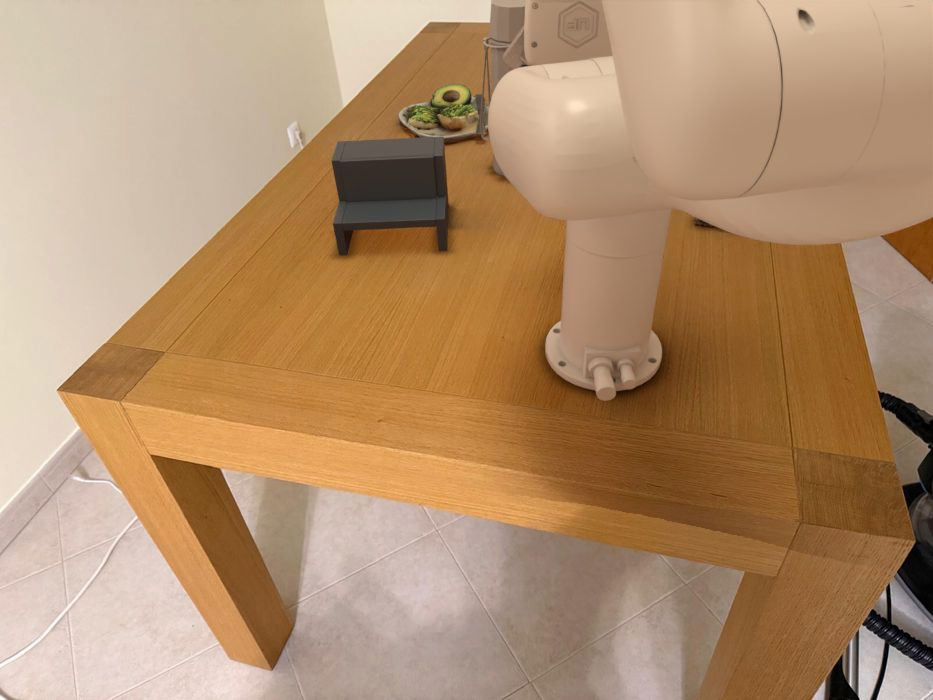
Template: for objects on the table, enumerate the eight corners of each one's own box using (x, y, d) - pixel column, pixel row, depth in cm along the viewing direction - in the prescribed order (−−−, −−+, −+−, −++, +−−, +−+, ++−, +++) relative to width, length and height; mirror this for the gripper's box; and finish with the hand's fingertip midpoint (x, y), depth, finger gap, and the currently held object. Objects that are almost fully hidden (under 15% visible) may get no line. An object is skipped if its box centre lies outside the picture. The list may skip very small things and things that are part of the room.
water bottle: (542, 161, 111) (546, -7, 95) (532, 184, 106) (535, 9, 89) (487, 157, 113) (482, -8, 97) (475, 179, 108) (468, 8, 91)
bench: (447, 251, 92) (441, 176, 85) (339, 255, 93) (324, 181, 86) (448, 206, 101) (443, 136, 94) (350, 211, 102) (337, 141, 95)
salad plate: (524, 133, 120) (524, 107, 117) (431, 157, 114) (429, 131, 111) (474, 98, 133) (474, 74, 130) (389, 118, 127) (386, 93, 124)
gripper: (487, -53, 60) (491, 141, 72) (683, -60, 59) (652, 138, 71) (489, -72, 66) (492, 112, 78) (667, -79, 65) (642, 108, 77)
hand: (569, 122), depth 75 cm, fingers closed on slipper, 4 cm apart
